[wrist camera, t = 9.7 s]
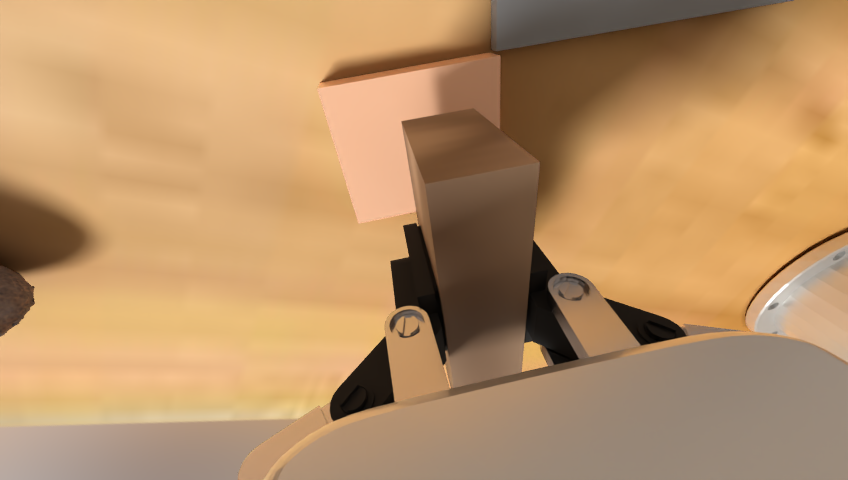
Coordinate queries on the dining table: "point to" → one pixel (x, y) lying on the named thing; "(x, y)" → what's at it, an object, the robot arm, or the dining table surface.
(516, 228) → the brown rectangular pillar
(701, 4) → the mat
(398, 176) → the tile
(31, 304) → the perforated stone tool
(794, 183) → the dining table surface
